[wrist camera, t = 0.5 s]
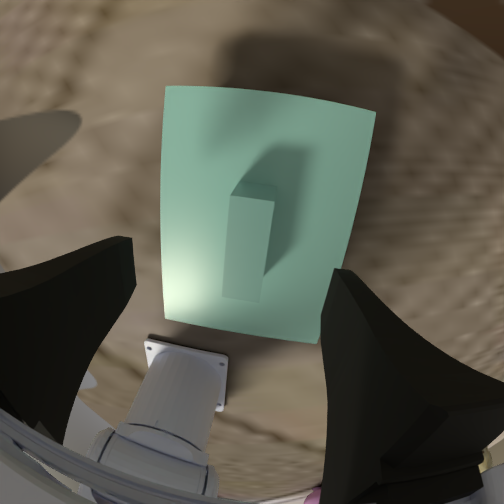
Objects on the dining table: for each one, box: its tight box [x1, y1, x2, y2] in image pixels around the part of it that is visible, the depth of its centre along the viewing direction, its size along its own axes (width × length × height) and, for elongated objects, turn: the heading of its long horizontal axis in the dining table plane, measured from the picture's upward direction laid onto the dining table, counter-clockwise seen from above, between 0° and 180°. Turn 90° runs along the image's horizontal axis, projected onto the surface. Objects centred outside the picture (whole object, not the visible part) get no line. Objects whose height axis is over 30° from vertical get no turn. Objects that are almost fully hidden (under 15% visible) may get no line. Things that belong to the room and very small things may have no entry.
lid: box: [160, 86, 376, 344], centre depth 15 cm, size 14×10×4 cm
